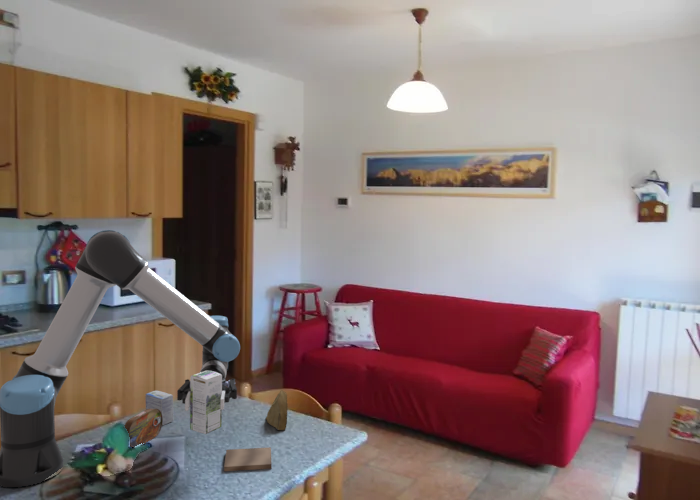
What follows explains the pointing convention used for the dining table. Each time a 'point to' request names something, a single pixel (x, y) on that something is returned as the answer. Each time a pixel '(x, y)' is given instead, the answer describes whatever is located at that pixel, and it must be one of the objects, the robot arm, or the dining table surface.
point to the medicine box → (161, 404)
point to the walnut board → (248, 459)
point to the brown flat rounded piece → (144, 426)
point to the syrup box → (205, 401)
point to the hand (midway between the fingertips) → (204, 404)
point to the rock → (278, 412)
